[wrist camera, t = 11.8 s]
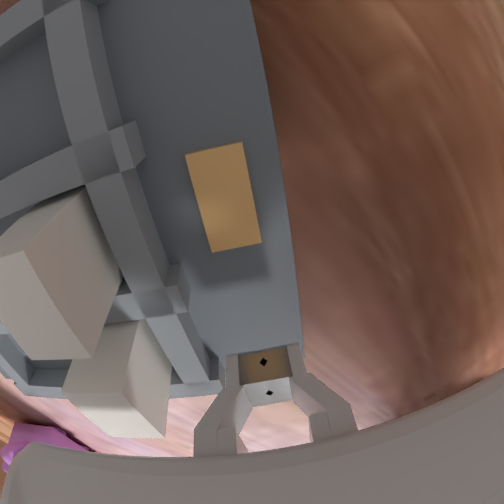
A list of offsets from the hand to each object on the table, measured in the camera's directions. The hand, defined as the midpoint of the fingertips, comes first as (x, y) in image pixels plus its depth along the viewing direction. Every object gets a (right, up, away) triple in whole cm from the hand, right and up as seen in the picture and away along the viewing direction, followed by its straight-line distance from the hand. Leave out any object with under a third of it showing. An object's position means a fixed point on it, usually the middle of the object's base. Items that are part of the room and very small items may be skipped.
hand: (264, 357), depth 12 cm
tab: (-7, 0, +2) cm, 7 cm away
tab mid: (-8, +5, -1) cm, 9 cm away
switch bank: (-11, +5, +1) cm, 12 cm away
